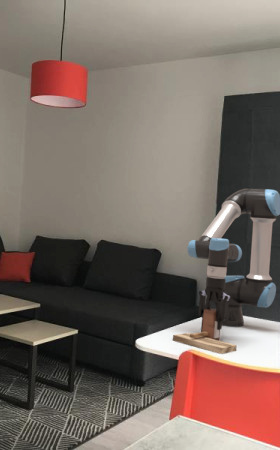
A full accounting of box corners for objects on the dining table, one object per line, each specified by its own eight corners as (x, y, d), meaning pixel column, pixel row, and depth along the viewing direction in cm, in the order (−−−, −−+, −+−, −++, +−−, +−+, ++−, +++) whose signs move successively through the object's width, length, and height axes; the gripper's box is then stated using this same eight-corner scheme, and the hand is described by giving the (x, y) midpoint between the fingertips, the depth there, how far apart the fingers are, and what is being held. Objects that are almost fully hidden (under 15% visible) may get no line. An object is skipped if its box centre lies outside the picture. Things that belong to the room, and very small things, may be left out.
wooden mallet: (209, 338, 205) (212, 308, 205) (219, 341, 202) (222, 310, 202) (186, 342, 193) (189, 311, 193) (195, 345, 190) (198, 313, 190)
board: (187, 337, 203) (188, 332, 203) (236, 350, 189) (236, 344, 189) (172, 340, 196) (173, 334, 196) (221, 353, 181) (222, 348, 181)
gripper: (192, 274, 204) (186, 332, 204) (230, 280, 192) (224, 342, 192) (203, 274, 210) (197, 330, 210) (240, 280, 198) (235, 340, 198)
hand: (210, 336), depth 201 cm, fingers closed on wooden mallet, 4 cm apart
